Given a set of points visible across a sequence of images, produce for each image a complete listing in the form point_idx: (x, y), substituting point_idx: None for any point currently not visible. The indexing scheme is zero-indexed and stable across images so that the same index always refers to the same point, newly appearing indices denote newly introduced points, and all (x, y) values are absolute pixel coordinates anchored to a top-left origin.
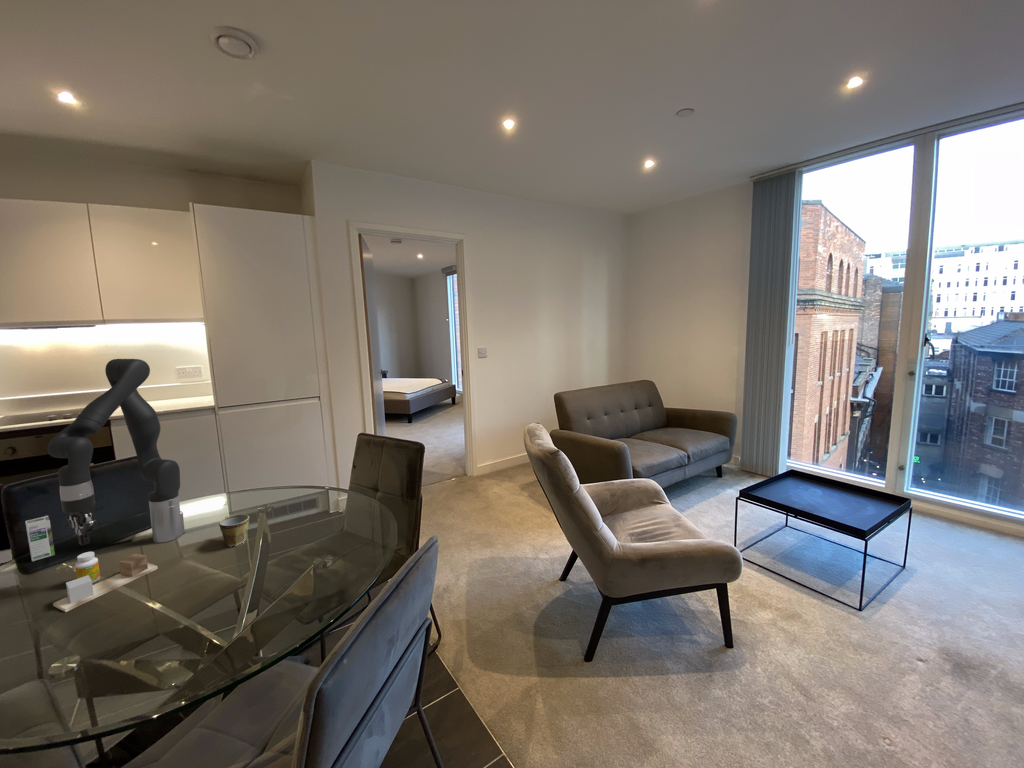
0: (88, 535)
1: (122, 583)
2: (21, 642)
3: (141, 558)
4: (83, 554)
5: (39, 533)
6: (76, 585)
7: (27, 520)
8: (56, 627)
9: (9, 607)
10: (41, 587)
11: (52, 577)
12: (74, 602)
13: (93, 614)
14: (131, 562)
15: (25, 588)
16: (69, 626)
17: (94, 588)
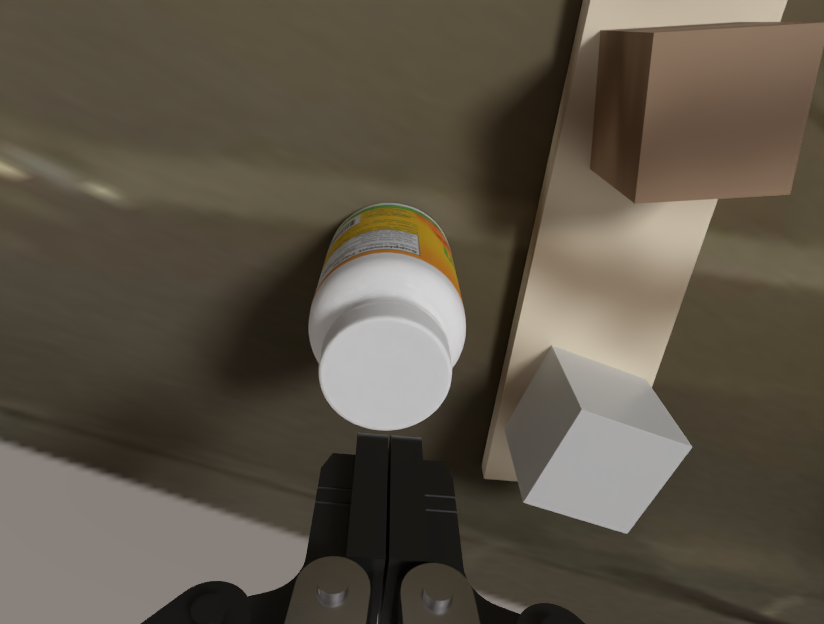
0: (457, 548)
1: (699, 232)
2: (640, 616)
3: (809, 82)
4: (354, 379)
5: None
6: (639, 503)
7: None
8: (690, 542)
9: (263, 522)
10: (171, 385)
11: (74, 300)
12: None
13: (784, 451)
14: (781, 180)
15: (91, 415)
16: (748, 525)
17: (572, 334)
